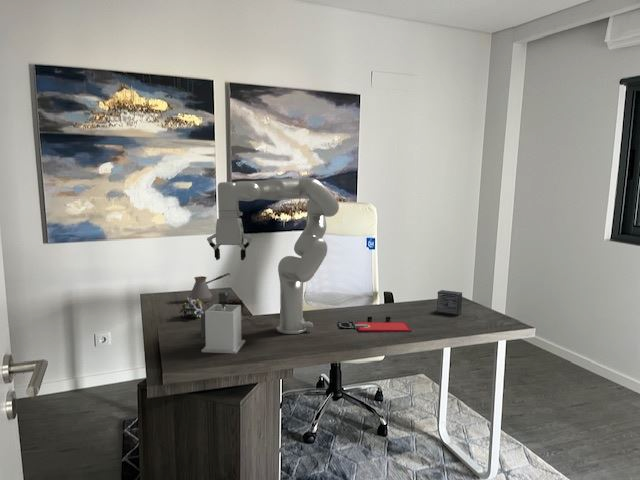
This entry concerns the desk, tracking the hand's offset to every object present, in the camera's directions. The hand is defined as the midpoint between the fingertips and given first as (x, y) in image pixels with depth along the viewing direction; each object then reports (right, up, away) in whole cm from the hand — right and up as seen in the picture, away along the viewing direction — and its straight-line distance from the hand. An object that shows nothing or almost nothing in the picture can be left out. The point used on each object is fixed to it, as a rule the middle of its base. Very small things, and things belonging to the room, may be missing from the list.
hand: (230, 259), depth 180 cm
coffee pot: (-24, -25, +69) cm, 77 cm away
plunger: (-2, -32, -2) cm, 32 cm away
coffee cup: (-2, -31, +18) cm, 36 cm away
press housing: (-2, -33, -2) cm, 33 cm away
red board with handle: (+58, -31, +26) cm, 70 cm away
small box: (+97, -28, +50) cm, 113 cm away
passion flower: (-25, -29, +38) cm, 54 cm away
